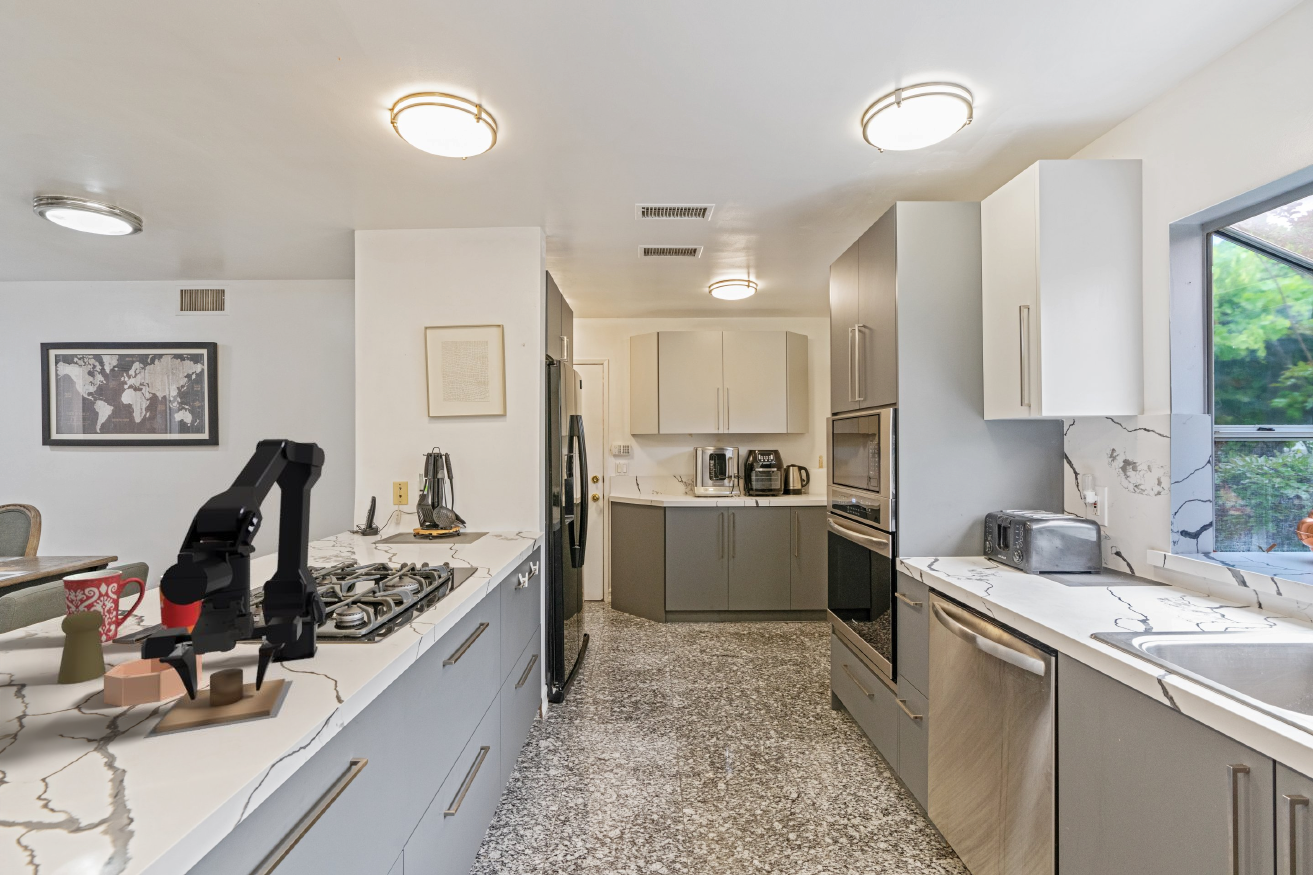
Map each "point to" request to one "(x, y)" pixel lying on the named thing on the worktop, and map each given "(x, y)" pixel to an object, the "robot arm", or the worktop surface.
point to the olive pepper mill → (82, 648)
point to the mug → (100, 598)
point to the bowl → (144, 682)
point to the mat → (273, 714)
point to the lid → (223, 702)
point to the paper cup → (178, 613)
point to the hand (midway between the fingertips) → (226, 694)
